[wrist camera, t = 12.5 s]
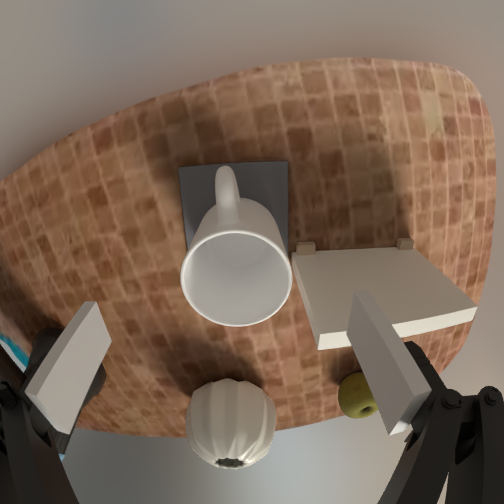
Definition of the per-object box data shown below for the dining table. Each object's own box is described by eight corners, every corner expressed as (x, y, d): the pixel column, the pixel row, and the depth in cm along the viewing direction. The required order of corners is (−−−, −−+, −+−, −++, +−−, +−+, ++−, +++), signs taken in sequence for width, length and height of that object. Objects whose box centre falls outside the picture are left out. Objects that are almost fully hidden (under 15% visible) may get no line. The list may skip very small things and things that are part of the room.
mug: (188, 165, 27) (157, 184, 17) (270, 155, 26) (285, 167, 17) (207, 271, 32) (193, 330, 22) (280, 263, 31) (294, 321, 22)
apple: (351, 396, 44) (361, 426, 37) (323, 384, 42) (332, 418, 35) (383, 372, 41) (397, 402, 35) (357, 357, 39) (371, 391, 33)
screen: (291, 273, 33) (316, 360, 20) (291, 242, 31) (322, 320, 18) (407, 265, 33) (467, 330, 20) (413, 237, 31) (481, 295, 18)
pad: (191, 263, 32) (190, 265, 31) (179, 167, 27) (178, 167, 27) (287, 258, 32) (287, 261, 31) (286, 160, 27) (287, 161, 27)
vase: (289, 387, 41) (300, 457, 29) (240, 421, 46) (241, 482, 34) (217, 354, 38) (210, 434, 26) (175, 396, 42) (163, 461, 30)
